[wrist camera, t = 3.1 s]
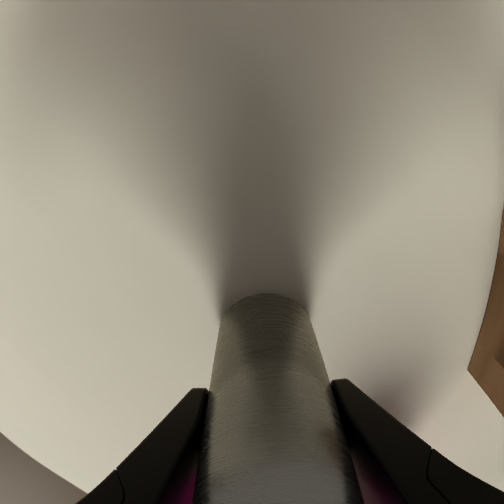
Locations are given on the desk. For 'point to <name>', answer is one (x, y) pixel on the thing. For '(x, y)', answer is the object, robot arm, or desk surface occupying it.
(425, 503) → the robot arm
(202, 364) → the desk surface
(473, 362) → the brown square frame
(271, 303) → the metal canister
